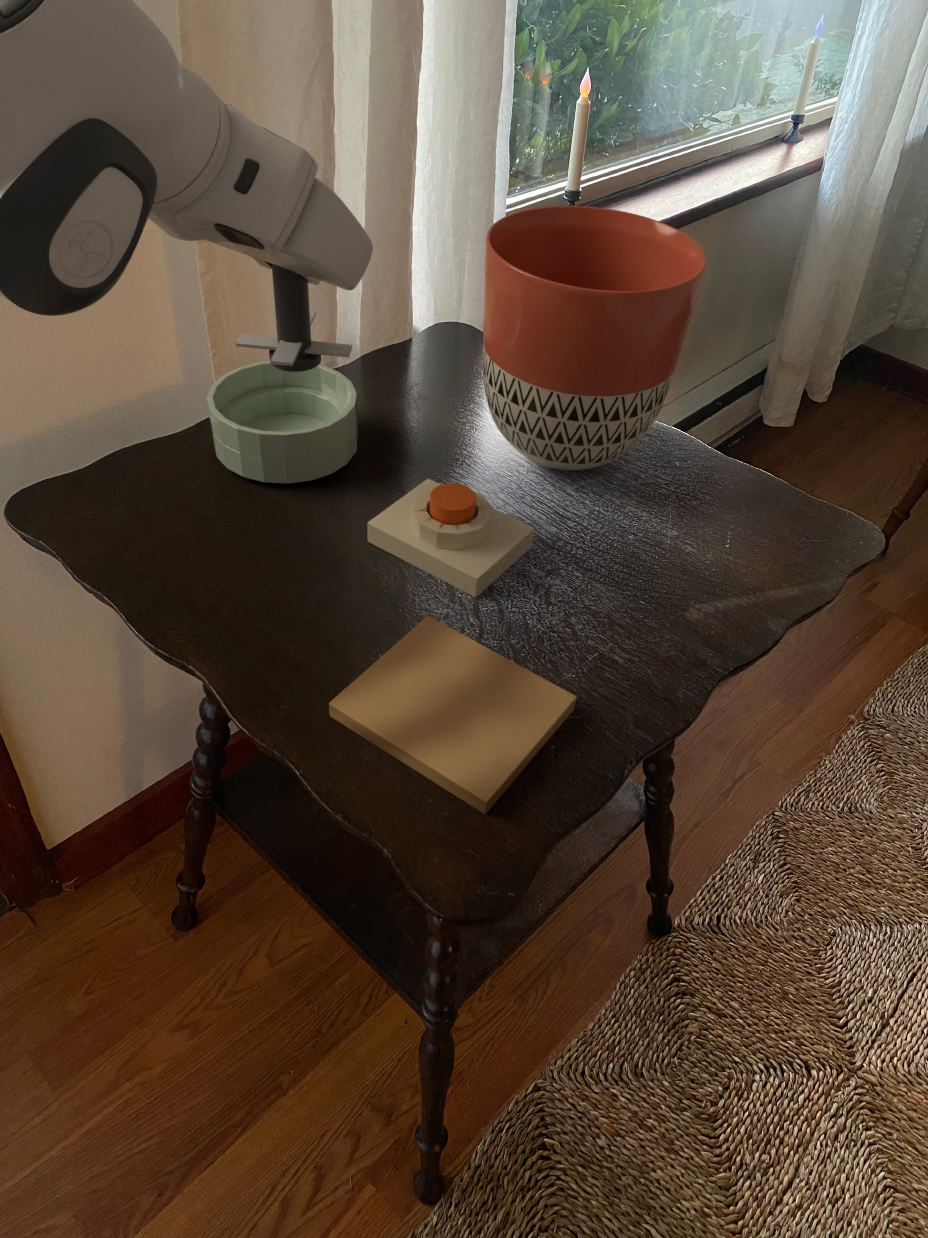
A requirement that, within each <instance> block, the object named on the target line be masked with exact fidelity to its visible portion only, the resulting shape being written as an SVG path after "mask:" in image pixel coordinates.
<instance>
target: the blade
mask: <svg viewBox="0 0 928 1238" xmlns="http://www.w3.org/2000/svg"><path fill="white" fill-rule="evenodd" d="M271 274H272V285H273V286H272V289H273V300H274V312H275V324H276V325H275V327H276V336H267V335H257V334H247V333H240V336H239V337H238V338H237V341H236V343H235V346H236V347H240V348H250V349H260V350H268V357H269V361H270V362H271V364H272V365H273V366H274V367H276V368H278V369H280V370H284V371H289V372H301V371H307V370H311V369H313V368H315V367H317V366H318V365H319V364H320V365H321V363H322V356H329V357H330V356H331V357H341V358H350V355H351V352H352V350H353V344H347V343H340V342H339V343H337V342H328V341H327V342H326V341H318V340H317V341H316V340H312V332H311V329H312V328H311V326H312V324H313V322H314V321H315V317H316V316H317V313H316V311H312V310H311V311H310V295H309V294H310V291H309V283H308V282H306V281H303V280H301V279H300V278H299V277H298V276H297V275H295V274H294V273H293V271H292V270H289V269H286V268H283V267H280V266H277V265H275V264H272V270H271Z"/></svg>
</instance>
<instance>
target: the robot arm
mask: <svg viewBox="0 0 928 1238" xmlns="http://www.w3.org/2000/svg"><path fill="white" fill-rule="evenodd" d="M318 169H319V165H318V163H317V161H316V160H315V158H314V157H313V156H312V155H311V154H310V153H309V152H308V151H307V150H306V149H305V148H303V147H301V146H300V145H298V144H295V143H294V142H292V141H290V140H288V139H286V138H284V137H282V136H280V135H278V134H277V133H274V132H273V131H271V130H269V129H267V128H265V127H263V126H261V125H259V124H257V123H256V122H255V121H252V120H251V119H250V118H249V117H247V116H246V115H244V114H243V112H241V111H239V110H238V109H237V108H236V107H235V106H234V105H232V104H231V103H227V102H226V103H225V101H223V99H221V97H220V96H219V95H218V93H216V92H215V91H214V90H213V89H212V87H211V86H210V85H209V84H208V83H207V82H206V81H205V80H204V79H203V78H202V77H201V76H200V75H199V74H197V73H195V72H194V71H193V70H191V69H189V68H188V67H186V66H184V65H183V64H182V63H181V62H180V61H179V59H178V57H177V54H176V51H175V50H174V48H173V46H172V44H171V43H170V41H169V40H168V38H167V37H166V35H165V34H164V33H163V31H162V30H161V29H160V28H159V27H158V26H157V24H155V22H154V21H152V19H151V18H150V17H149V16H148V14H146V13H145V12H144V11H143V9H142V8H141V7H140V6H139V5H138V4H137V3H136V2H135V1H134V0H0V296H1V297H3V298H5V299H6V300H8V301H10V302H11V303H12V304H14V305H15V306H16V307H18V308H20V309H22V310H24V311H27V312H29V313H32V314H36V315H38V316H39V315H40V316H48V317H54V316H64V315H70V314H73V313H76V312H79V311H82V310H84V309H86V308H89V307H91V306H92V305H94V304H96V303H97V302H98V301H100V300H102V299H103V298H104V297H105V296H106V295H107V294H108V293H109V292H110V291H112V289H113V288H114V287H115V286H116V284H117V283H118V281H120V279H121V277H122V276H123V274H124V272H125V270H126V269H127V267H128V265H129V263H130V261H131V259H132V257H133V255H134V252H135V250H136V248H137V246H138V244H139V242H140V240H141V237H142V234H143V232H144V230H145V227H146V224H147V222H148V220H149V221H151V222H152V223H153V224H155V226H157V227H158V228H160V229H161V231H163V232H164V233H166V234H167V235H169V236H170V237H172V238H174V239H177V240H181V241H185V242H197V241H203V240H204V241H207V242H208V243H209V242H210V243H212V244H216V245H218V246H221V247H224V248H227V249H230V250H232V251H235V252H238V253H241V254H244V255H246V256H247V257H250V258H252V260H254V261H255V262H256V263H257V264H258V265H259V266H261V267H263V268H266V269H269V270H271V271H272V264H275V265H277V266H280V267H283V268H286V269H289V270H292V271H293V273H294V274H295V275H297V276H298V277H299V278H300V279H301V280H303V281H306V282H308V284H310V285H313V286H318V285H319V284H320V282H323V283H326V284H329V285H331V286H335V287H337V288H340V289H342V290H345V291H353V290H355V289H356V287H358V285H359V283H360V282H361V280H362V279H363V276H364V274H365V273H366V271H367V269H368V267H369V264H370V262H371V259H372V256H373V252H374V243H373V242H372V239H371V237H370V235H369V233H368V232H367V231H366V229H364V227H363V226H362V224H361V223H360V221H359V220H358V219H357V217H356V216H355V215H354V214H353V212H352V211H351V210H350V209H349V207H348V205H346V204H345V202H344V201H343V200H342V199H341V198H340V197H339V196H338V194H337V193H336V192H335V191H334V190H333V189H332V188H331V187H329V186H328V185H327V184H326V183H324V182H323V181H322V180H320V179H319V178H317V177H316V176H317V173H318V171H319V170H318Z"/></svg>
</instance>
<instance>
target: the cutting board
mask: <svg viewBox="0 0 928 1238" xmlns="http://www.w3.org/2000/svg"><path fill="white" fill-rule="evenodd" d="M577 699H578V697H577V695H575V694H573V693H571V692H569V691H567V690H566V689H564V688H563V687H561V686H558V685H556V684H555V683H553V682H551V681H549V680H548V679H546V678H544V677H542V676H540V675H538V674H537V673H534V672H533V671H531V670H529V669H528V668H526V667H523V666H522V665H520V664H518V663H516V662H515V661H512V660H511V659H509V658H507V657H506V656H503V655H502V654H500V653H498V652H496V651H494V650H493V649H491V648H489V647H487V646H485V645H483V644H481V643H479V642H478V641H476V640H474V639H472V638H470V637H469V636H466V635H464V633H461V632H459V631H457V630H455V629H454V628H452V627H450V626H449V625H446V624H444V623H443V622H441V621H439V620H438V619H435V618H433V617H432V616H430V615H427V616H426V617H424V618H423V619H422V620H421V621H420V622H419V623H418V624H417V625H416V626H415V627H413V628H412V629H411V630H410V631H409V632H408V633H406V634H405V635H404V636H403V637H402V638H401V639H400V640H399V641H397V642H396V643H395V644H394V645H393V646H392V647H390V649H389V650H387V651H385V653H383V654H382V655H381V656H380V657H379V658H378V659H377V660H376V661H375V662H373V664H371V665H370V666H369V667H368V668H367V669H365V670H364V671H363V672H362V673H361V674H360V675H359V676H358V677H356V678H355V679H354V680H353V681H352V682H351V683H350V684H349V685H347V686H346V687H345V688H344V689H343V690H342V691H341V692H340V693H339V694H338V695H336V696H335V697H334V698H333V699H332V700H330V701H329V703H328V711H329V713H328V714H329V717H330V718H332V719H333V720H335V721H336V722H338V723H340V724H341V725H342V726H345V727H346V728H348V729H349V730H351V731H352V732H354V733H356V734H357V735H359V736H360V737H362V738H364V739H365V740H366V741H368V742H370V744H373V745H374V746H376V747H378V748H379V749H381V750H382V751H384V752H385V753H387V754H388V755H390V756H392V757H393V758H395V759H397V760H398V761H400V762H401V763H403V764H404V765H406V766H407V767H410V769H412V770H414V771H415V772H417V773H418V774H420V775H421V776H424V777H425V778H427V779H428V780H430V781H431V782H433V783H434V784H436V785H437V786H439V787H441V788H443V789H444V790H445V791H447V792H448V793H450V794H452V795H453V796H455V797H456V798H458V799H459V800H461V801H462V802H465V803H466V804H468V805H469V806H470V807H472V808H473V809H475V810H477V811H479V812H480V813H482V814H483V815H487V814H488V812H489V811H490V810H491V809H492V808H493V806H494V805H495V804H497V802H498V800H499V799H500V798H501V797H502V796H503V795H504V793H506V791H507V790H508V788H510V786H511V785H512V784H513V783H514V782H515V780H516V779H517V778H518V777H519V776H520V775H521V774H522V772H523V771H524V769H526V767H527V766H528V765H529V764H530V762H531V761H532V760H533V759H534V758H535V757H536V755H538V753H540V751H541V749H542V748H543V747H544V746H545V745H546V744H547V742H549V740H550V739H551V738H552V737H553V735H554V734H555V733H556V731H557V730H558V729H559V728H560V727H561V726H562V725H563V723H564V722H565V721H566V720H567V719H568V718H569V716H570V715H571V714H572V713H573V711H574V710H575V707H576V703H577Z"/></svg>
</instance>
